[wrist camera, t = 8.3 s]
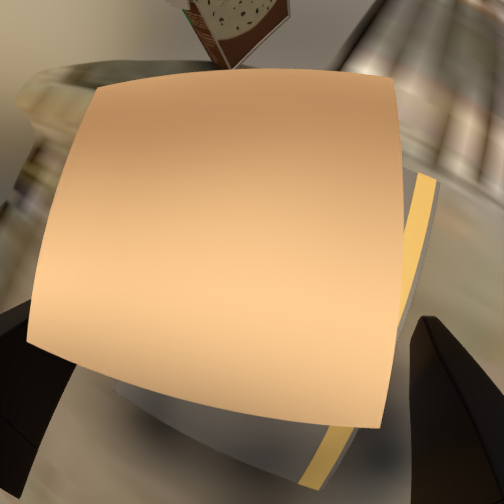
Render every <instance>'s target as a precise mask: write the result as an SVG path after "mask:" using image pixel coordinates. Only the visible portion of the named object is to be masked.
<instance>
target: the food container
mask: <svg viewBox="0 0 504 504" xmlns="http://www.w3.org/2000/svg"><path fill="white" fill-rule="evenodd" d="M166 2H167V3H169V4H170V5H172V6H174V7H177V8H180V9H182V11H183V12H184V14H185V16H186V17H187V19H188V20H189V22H190V24H191V26H192V27H193V29H194V31H195V33H196V34H197V36H198V38H199V39H200V41H201V43H202V45H203V46H204V48H205V50H206V52H207V53H208V55H209V57H210V59H211V60H212V62H213V63H214V64H215V65H216V66H217V67H218V68H220V69H221V70H234V69H237V68H238V67H239V66H240V65H241V64H242V63H243V62H244V61H245V60H246V59H247V58H248V57H249V56H250V55H251V54H252V53H253V52H254V51H255V50H256V49H257V48H258V47H259V46H260V45H261V44H262V43H263V42H264V41H265V40H266V39H267V38H268V37H269V36H270V35H271V34H273V33H274V32H275V31H276V30H277V29H278V28H279V27H280V26H281V25H282V24H283V23H285V22H286V21H287V20H288V19H289V18H290V1H289V0H166Z"/></svg>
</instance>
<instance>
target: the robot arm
mask: <svg viewBox="0 0 504 504" xmlns="http://www.w3.org/2000/svg"><path fill="white" fill-rule="evenodd" d="M30 306H31V299H30V300H28V301H26V302H24V303H22V304H20V305H18V306H16V307H14V308H12V309H10V310H8V311H6V312H4V313H2V314H0V488H1V489H3V490H4V491H6V492H8V493H9V494H11V495H13V496H14V497H16V498H18V499H20V497H21V495H22V492H23V489H24V486H25V484H26V481H27V478H28V475H29V472H30V470H31V467H32V464H33V462H34V459H35V457H36V454H37V452H38V449H39V446H40V444H41V441H42V439H43V436H44V434H45V432H46V429H47V427H48V425H49V422H50V420H51V418H52V416H53V413H54V411H55V409H56V407H57V405H58V402H59V400H60V398H61V396H62V394H63V392H64V390H65V387H66V385H67V383H68V381H69V379H70V377H71V375H72V373H73V371H74V369H75V367H76V365H77V364H75V363H73V362H70V361H68V360H66V359H63V358H61V357H59V356H57V355H54V354H52V353H50V352H48V351H45V350H43V349H41V348H39V347H37V346H35V345H33V344H31V343H28V342H27V332H28V323H29V314H30ZM409 405H410V422H411V450H412V479H411V504H504V395H503V394H502V393H501V391H500V390H499V389H498V388H497V386H496V385H495V384H494V383H493V381H492V380H491V379H490V378H489V376H488V375H487V374H486V373H485V372H484V370H483V369H482V368H481V367H480V365H479V364H478V363H477V362H476V361H475V360H474V358H473V357H472V356H471V355H470V354H469V353H468V351H467V350H466V349H465V348H464V347H463V346H462V344H461V343H460V342H459V341H458V340H457V339H456V338H455V337H454V335H453V334H452V333H451V332H450V331H449V330H448V329H447V328H446V327H445V325H444V324H443V323H442V322H441V321H440V320H439V319H438V318H437V317H435V316H425V315H423V316H421V317H420V318H419V320H418V323H417V325H416V328H415V330H414V333H413V335H412V337H411V341H410V384H409Z"/></svg>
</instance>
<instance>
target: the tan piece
mask: <svg viewBox="0 0 504 504" xmlns="http://www.w3.org/2000/svg"><path fill="white" fill-rule="evenodd" d="M403 236H404V200H403V171H402V154H401V141H400V130H399V120H398V112H397V103H396V96H395V89H394V82H393V78H387V77H380V76H373V75H365V74H357V73H347V72H337V71H323V70H305V69H234V70H216V71H203V72H192V73H183V74H174V75H166V76H159V77H152V78H146V79H140V80H134V81H128V82H123V83H118V84H113V85H108V86H103V87H99V88H97V90H96V92H95V94H94V96H93V98H92V100H91V102H90V105H89V107H88V109H87V111H86V113H85V116H84V118H83V120H82V123H81V125H80V127H79V130H78V132H77V135H76V137H75V140H74V142H73V145H72V147H71V150H70V153H69V155H68V158H67V161H66V164H65V166H64V169H63V172H62V175H61V178H60V181H59V184H58V187H57V190H56V194H55V197H54V200H53V204H52V207H51V211H50V214H49V218H48V222H47V225H46V229H45V233H44V237H43V242H42V246H41V250H40V255H39V260H38V265H37V270H36V275H35V281H34V287H33V293H32V299H31V306H30V314H29V323H28V332H27V342H28V343H31V344H33V345H35V346H37V347H39V348H41V349H43V350H45V351H48V352H50V353H52V354H54V355H57V356H59V357H61V358H63V359H66V360H68V361H70V362H73V363H75V364H78V365H80V366H83V367H85V368H88V369H90V370H93V371H96V372H98V373H101V374H104V375H106V376H109V377H112V378H115V379H118V380H120V381H123V382H126V383H129V384H132V385H135V386H138V387H142V388H145V389H148V390H151V391H155V392H158V393H161V394H165V395H168V396H172V397H176V398H179V399H183V400H187V401H191V402H195V403H199V404H203V405H207V406H211V407H216V408H220V409H225V410H230V411H235V412H240V413H245V414H250V415H256V416H262V417H268V418H274V419H280V420H287V421H295V422H303V423H311V424H320V425H331V426H343V427H359V428H380V425H381V421H382V416H383V411H384V407H385V402H386V397H387V392H388V386H389V381H390V375H391V369H392V363H393V356H394V349H395V342H396V334H397V326H398V317H399V307H400V295H401V282H402V265H403Z"/></svg>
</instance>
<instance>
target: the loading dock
mask: <svg viewBox="0 0 504 504" xmlns="http://www.w3.org/2000/svg"><path fill="white" fill-rule="evenodd" d="M402 171H403V200H404V236H403V265H402V282H401V295H400V307H399V317H398V326H397V334H396V342H395V347H396V345H397V342H398V339H399V337H400V334H401V331H402V328H403V326H404V323H405V320H406V317H407V314H408V311H409V308H410V305H411V302H412V299H413V296H414V292H415V289H416V286H417V282H418V279H419V276H420V272H421V269H422V265H423V261H424V257H425V254H426V250H427V246H428V242H429V237H430V233H431V229H432V224H433V220H434V215H435V210H436V205H437V200H438V195H439V189H440V182H437V180H435V179H433V178H430V177H428V176H426V175H423V174H421V173H416V172H413V171H411V170H408V169H406V168H403V167H402ZM394 350H395V349H394ZM114 392H115V393H117V394H118V395H120V396H121V397H123V398H124V399H126V400H128V401H129V402H131V403H132V404H134V405H135V406H137V407H138V408H140V409H142V410H143V411H145V412H147V413H148V414H150V415H152V416H153V417H155V418H157V419H158V420H160V421H162V422H163V423H165V424H167V425H169V426H170V427H172V428H174V429H176V430H178V431H180V432H181V433H183V434H185V435H187V436H189V437H191V438H193V439H195V440H197V441H199V442H201V443H203V444H205V445H207V446H209V447H211V448H213V449H215V450H217V451H219V452H221V453H223V454H225V455H228V456H230V457H232V458H234V459H237V460H239V461H241V462H244V463H246V464H248V465H251V466H253V467H256V468H258V469H261V470H263V471H266V472H268V473H271V474H274V475H276V476H279V477H282V478H284V479H287V480H290V481H293V482H296V483H298V484H299V485H302V486H306V487H309V488H312V489H315V490H321V491H324V489H325V488H326V486H327V485H328V483H329V481H330V480H331V478H332V477H333V475H334V473H335V472H336V470H337V468H338V466H339V465H340V463H341V461H342V460H343V458H344V456H345V454H346V452H347V451H348V449H349V447H350V445H351V443H352V441H353V440H354V438H355V436H356V434H357V432H358V430H359V427H343V426H331V425H320V424H311V423H303V422H295V421H287V420H280V419H274V418H268V417H262V416H256V415H250V414H245V413H240V412H235V411H230V410H225V409H220V408H216V407H211V406H207V405H203V404H199V403H195V402H191V401H187V400H183V399H179V398H176V397H172V396H168V395H165V394H161V393H158V392H155V391H151V390H148V389H145V388H142V387H138V386H135V385H132V384H129V383H126V382H123V381H120V380H117V382H116V385H115V388H114Z"/></svg>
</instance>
